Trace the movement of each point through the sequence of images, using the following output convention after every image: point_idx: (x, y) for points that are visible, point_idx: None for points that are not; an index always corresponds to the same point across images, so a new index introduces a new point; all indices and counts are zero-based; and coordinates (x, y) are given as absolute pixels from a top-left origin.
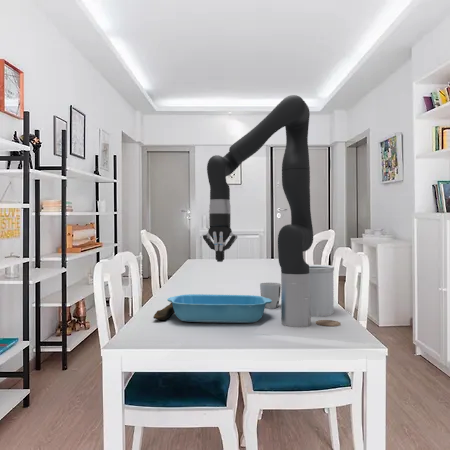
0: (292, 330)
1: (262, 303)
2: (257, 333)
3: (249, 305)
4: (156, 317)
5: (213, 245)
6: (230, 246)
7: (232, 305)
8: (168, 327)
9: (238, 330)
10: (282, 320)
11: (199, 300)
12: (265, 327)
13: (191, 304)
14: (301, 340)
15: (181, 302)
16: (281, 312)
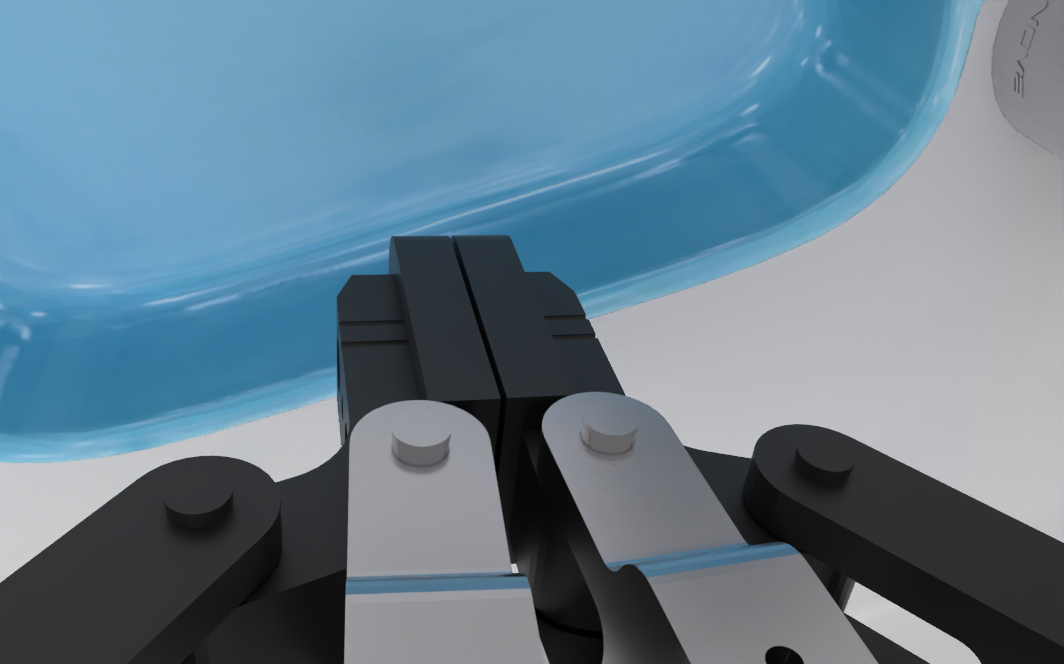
0: (1036, 252)
1: (928, 141)
2: (792, 405)
3: (788, 245)
4: None
5: (180, 617)
6: (935, 512)
7: (617, 306)
8: (74, 483)
9: (654, 379)
10: (1018, 111)
11: None
12: (850, 229)
13: (181, 438)
14: (1036, 452)
15: None
16: (1059, 109)
